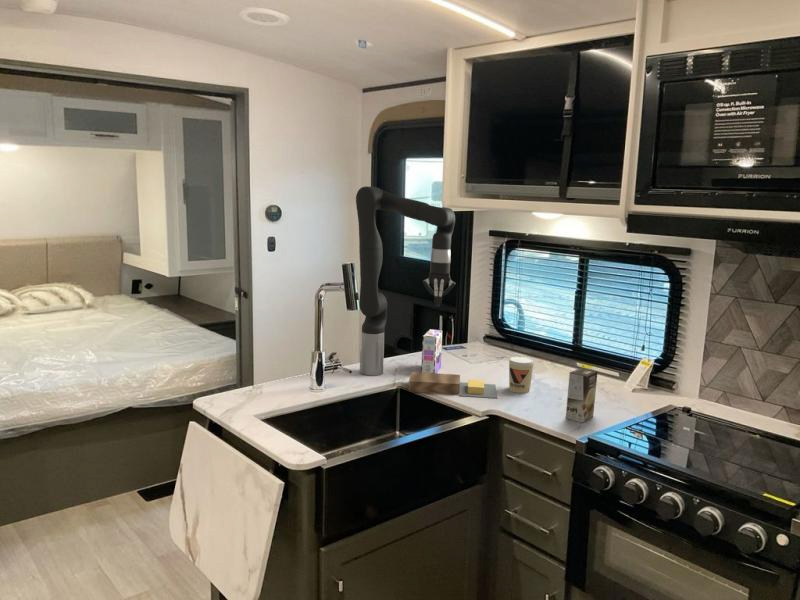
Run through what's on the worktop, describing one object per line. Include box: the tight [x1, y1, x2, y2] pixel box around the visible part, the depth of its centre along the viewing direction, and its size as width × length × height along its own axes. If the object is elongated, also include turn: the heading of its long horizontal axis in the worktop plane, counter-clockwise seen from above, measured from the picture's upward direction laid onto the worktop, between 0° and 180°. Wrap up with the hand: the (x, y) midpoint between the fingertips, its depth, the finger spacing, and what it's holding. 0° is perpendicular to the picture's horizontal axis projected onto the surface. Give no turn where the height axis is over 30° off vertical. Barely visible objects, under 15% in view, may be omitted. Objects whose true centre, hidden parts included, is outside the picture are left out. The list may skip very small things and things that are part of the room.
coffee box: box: [565, 367, 598, 423], centre depth 208 cm, size 9×6×16 cm
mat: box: [458, 381, 499, 400], centre depth 235 cm, size 14×16×1 cm
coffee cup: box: [508, 356, 535, 394], centre depth 236 cm, size 9×9×12 cm
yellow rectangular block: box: [467, 379, 485, 394], centre depth 234 cm, size 6×9×2 cm, turn 174°
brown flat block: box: [408, 371, 461, 395], centre depth 236 cm, size 19×12×4 cm, turn 84°
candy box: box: [420, 328, 443, 373], centre depth 258 cm, size 14×6×16 cm, turn 165°
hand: (437, 305), depth 236 cm, fingers closed
